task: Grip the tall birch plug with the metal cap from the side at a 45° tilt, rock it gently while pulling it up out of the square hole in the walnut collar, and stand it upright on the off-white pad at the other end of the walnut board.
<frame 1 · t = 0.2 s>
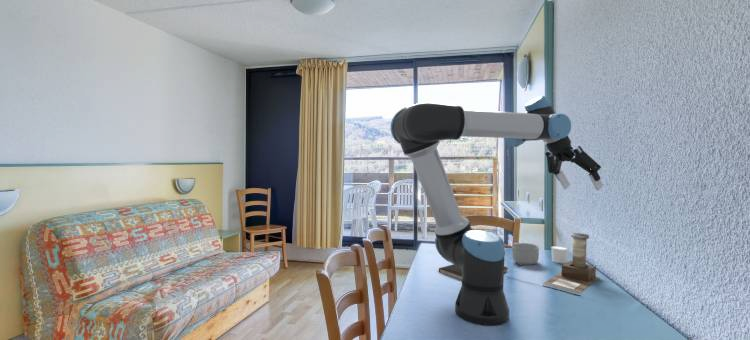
hand: (582, 187, 127), 35 cm above the table, tool tilted 35°, fingers open, 13 cm apart
capped plug: (578, 276, 135), point 1 cm above the table, touching socket board
hardcover book: (473, 273, 142), on the table
socket board: (572, 283, 130), on the table
teacup: (523, 263, 154), on the table
short white cylinder: (559, 264, 154), on the table
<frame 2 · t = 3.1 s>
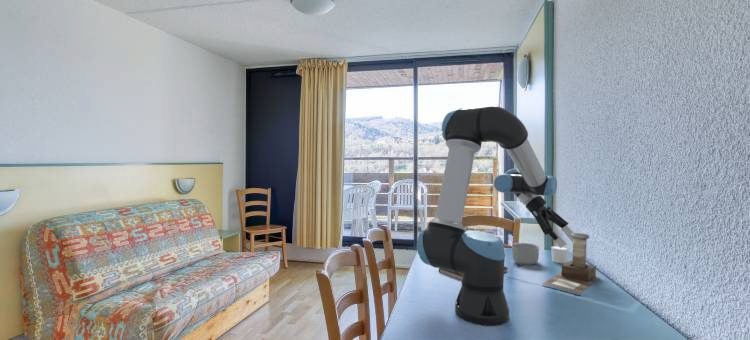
hand: (570, 243, 138), 13 cm above the table, tool tilted 45°, fingers open, 13 cm apart
nothing on the table moved.
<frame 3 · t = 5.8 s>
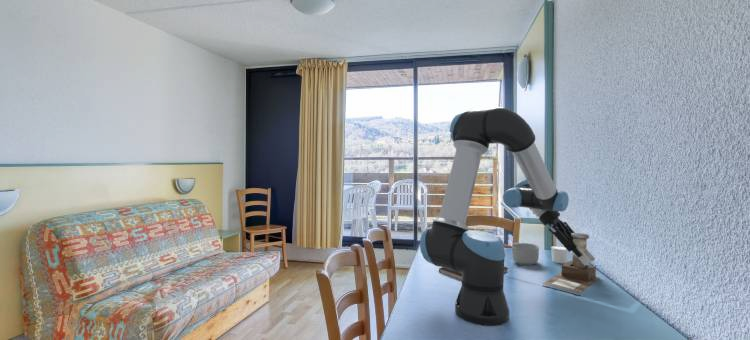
hand: (590, 262, 132), 7 cm above the table, tool tilted 45°, fingers closed on capped plug, 4 cm apart
capped plug: (578, 276, 135), point 1 cm above the table, touching gripper, socket board
everything else where it was.
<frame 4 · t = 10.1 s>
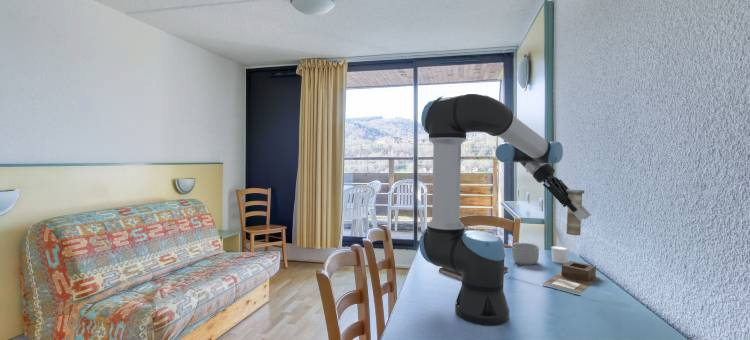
hand: (585, 217, 126), 25 cm above the table, tool tilted 45°, fingers closed on capped plug, 4 cm apart
capped plug: (573, 234, 129), point 18 cm above the table, touching gripper
everything else where it was.
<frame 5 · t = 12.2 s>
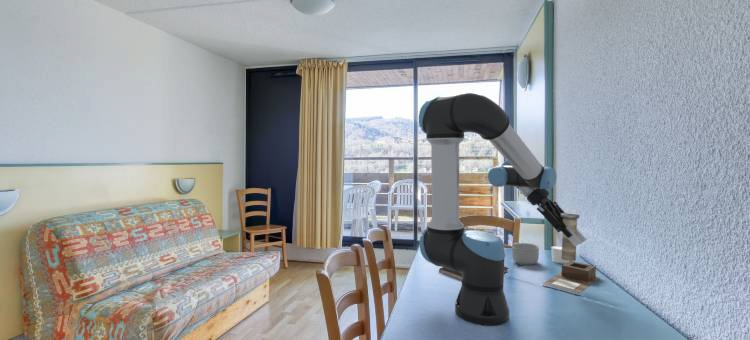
hand: (580, 243, 123), 16 cm above the table, tool tilted 45°, fingers closed on capped plug, 4 cm apart
capped plug: (568, 259, 126), point 10 cm above the table, touching gripper
everything else where it was.
when the fingers open (8 cm above the table, at t = 14.3 s): capped plug stays where it is, resting on socket board.
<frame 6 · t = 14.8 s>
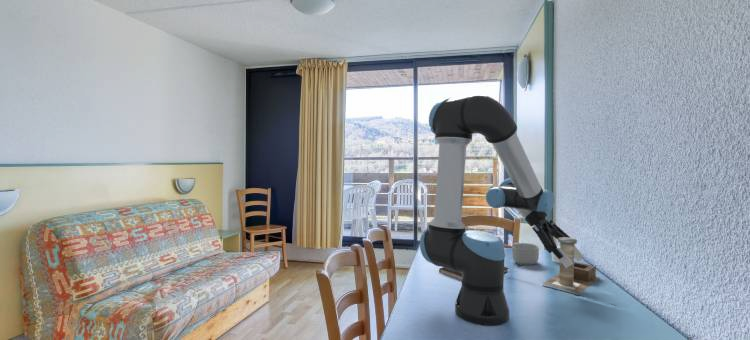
hand: (575, 262, 123), 10 cm above the table, tool tilted 45°, fingers open, 11 cm apart
capped plug: (566, 283, 126), point 1 cm above the table, touching socket board
everything else where it was.
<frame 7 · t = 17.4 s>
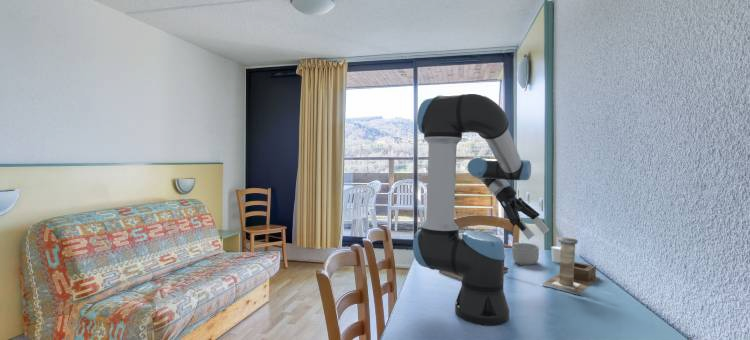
hand: (539, 234, 132), 17 cm above the table, tool tilted 45°, fingers open, 13 cm apart
nothing on the table moved.
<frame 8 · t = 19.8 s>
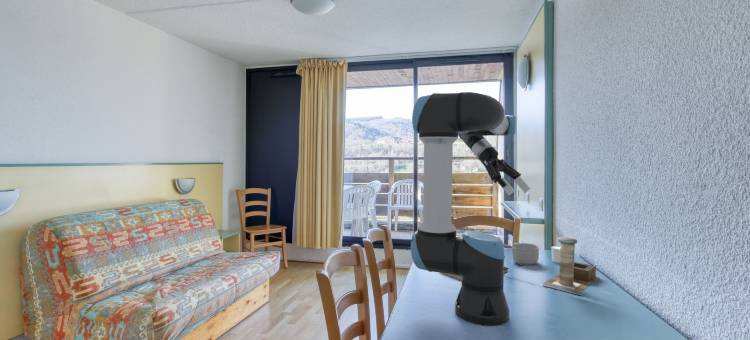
hand: (520, 191, 135), 33 cm above the table, tool tilted 45°, fingers open, 13 cm apart
nothing on the table moved.
at the end: capped plug 0.0 cm from the target spot on the socket board, point 1.2 cm above the socket board's base; capped plug tilted 0°; the gripper is holding nothing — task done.
